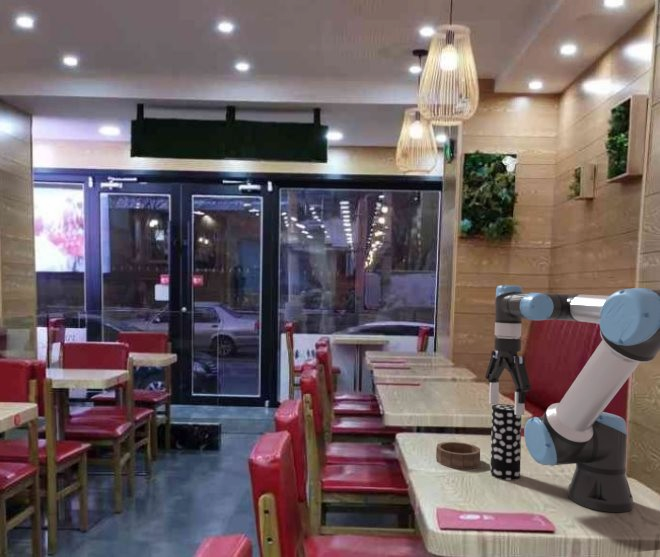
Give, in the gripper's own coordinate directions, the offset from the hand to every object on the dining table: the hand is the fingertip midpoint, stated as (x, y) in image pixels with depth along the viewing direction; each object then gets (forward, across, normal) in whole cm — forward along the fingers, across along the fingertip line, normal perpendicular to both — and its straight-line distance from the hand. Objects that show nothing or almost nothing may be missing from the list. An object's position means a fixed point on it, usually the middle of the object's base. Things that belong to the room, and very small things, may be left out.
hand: (506, 409), depth 159 cm
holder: (+20, +14, +8) cm, 25 cm away
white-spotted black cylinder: (+20, 0, 0) cm, 20 cm away
